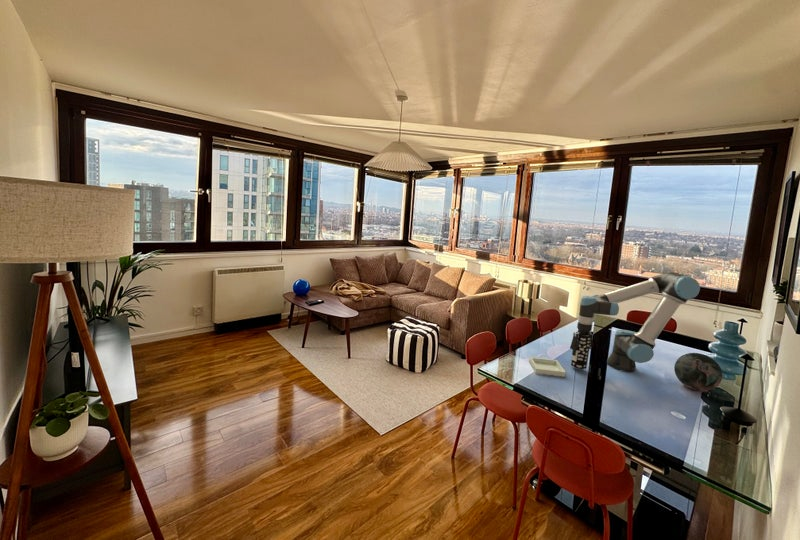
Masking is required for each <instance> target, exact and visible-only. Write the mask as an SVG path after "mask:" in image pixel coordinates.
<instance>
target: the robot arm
mask: <svg viewBox="0 0 800 540" xmlns="http://www.w3.org/2000/svg"><path fill="white" fill-rule="evenodd" d="M700 290H701V287H700V283H699V281H698V280H697V279H696V278H694V277H692V276H689V275H688V274H687V275H685V274H682V273H678V272H676V271H675V272H671V271H670V272H665V273H661V274H657V275H655V276H650V277H648V280H644V281H641V282H638V283H635V284H632V285H628V286H626V287H622V288H619V289H616V290H612V291H610V292H605V293H603V294H600V295H599V294H592V295H590V296H589V295H584V296H582V297H581V300H580V303H579V304H580V305H579V311H578V312H579V313H578V319H577V320H578V322H577V325H576V328H577V331H576V332H577V333H576V332H572V333H573V334H572V335H573V336H572V340H571V344H570V345H569V346H570V347H569V348H570V350H572V353H571V355H572V356H571V360H574V361H577V354H578V351H577V349H578V347H579V342H577V341H578V337H579V335H583V336H585V335H589V334H590V335H591V342H590V349H589V350H592V348H593V345H594V341H593V340H594V331H592V330H593V323H594V317H595V315H603V316H617V315H618V314H619V311H620V307H619V303H623V302H626V301H630V300H632V299H633V300H634V299H636V298H640V297H643V296H645V295H650V294H653V293H655V294H659V293H661V294H662V297H661V298H660V300H659V302H658V303H657V304H656V306H655V307H654V308H653V310H652V312H651V313H650V315H649V316H648V317H647V319H646V320H645V322H644V323H643V324H642V326H641V328H640V329H639V330H638V331H637V332H636V331H632V330H628V329H617V330H616V331H615V334H614V339H613V345H612V351H611V353H610V354H609V356H608V357H607V359H606V365H608V366H609V367H611V368H612V369H615V370H617V371H622V372H626V373H632V372H636V370H637V369H636V368H637V366H636V363H639V364H643V363H648V362H649V361H650V360H652V359H653V358H654V348H655V347H656V342H655V341H656V340H657V338H658V337H659V335H660V334H661V333H662V331H663V330H664V329H665V328H666V325H667V324H668V323H669V321H670V320H671V318H672V317H673V316H674V315H675V313H676V311H677V310H678V308H679V307H680V306H681V305H684V304H686V303H687V302H688V300H692V299H694V298H696V297H697V296H698V295H699V293H700Z"/></svg>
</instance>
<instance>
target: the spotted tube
mask: <svg viewBox="0 0 800 540" xmlns="http://www.w3.org/2000/svg"><path fill="white" fill-rule="evenodd" d="M577 332H578V331H576V332H575V333H577ZM577 342H579V347H578V349H577V351H578V354H577V361H574V360H572V359H571V362H570V365H571V367H573V368H574V369H578V370H586V369H587V368H588V361H589V353H590V350H591V349H590V345H591V344H590V342H591V335H590V334H589V335H585V336H583V335H579V337H578V341H577Z"/></svg>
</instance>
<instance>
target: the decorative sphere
mask: <svg viewBox="0 0 800 540" xmlns="http://www.w3.org/2000/svg"><path fill="white" fill-rule="evenodd" d="M673 369H674V373H675V376H676V378H677V379H678V381H679V382H680V383H681V384H682V385H683V386H685V387H687V388H688V389H691V390H695V391H697V392H698V391H699V392H703V391H704V392H705V391H706V392H707V391H710V390H711V391H712V390H713V389H716V388H717V387H718V386H719V385H721V382H722V381H723V371H722V368H721V366H720V365H719V363H718V362H717V361H716V360H715V359H713V357H710V356H709V355H707V354H705V353H704V354H703V353H701V352H700V353H699V352H688V353H685V354H682V355H681V356H680V357H678V358H677V359H676V361H675V363H674V368H673Z"/></svg>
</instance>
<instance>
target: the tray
mask: <svg viewBox="0 0 800 540" xmlns="http://www.w3.org/2000/svg"><path fill="white" fill-rule="evenodd" d="M528 362H529V365H530V366H531V368H532V369H533V371H534V373H535V374H536V375H543V374H546V375H545V376H551V375H554V376H553V377H559V376H562V378H566V373H567V372H566V370H565V369H564V368H563V366H562V365H561V363H560V362H559V360H557V359H552V358H551V359H550V358H542V357H532V356H529V359H528Z"/></svg>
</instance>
